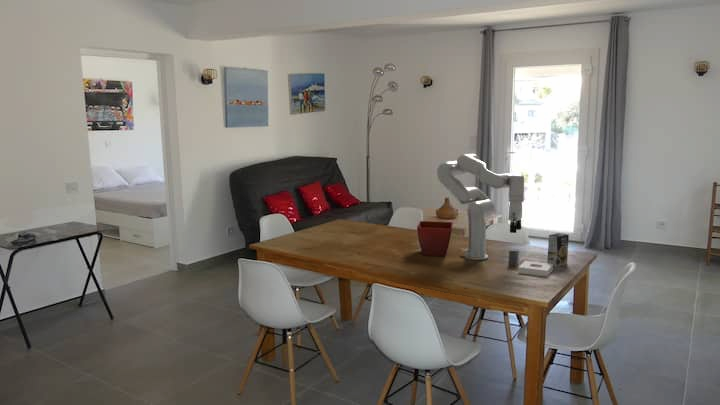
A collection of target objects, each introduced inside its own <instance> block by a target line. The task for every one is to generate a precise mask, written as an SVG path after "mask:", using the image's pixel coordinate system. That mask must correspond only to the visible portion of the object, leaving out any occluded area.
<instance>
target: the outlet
mask: <svg viewBox="0 0 720 405" xmlns="http://www.w3.org/2000/svg"><path fill="white" fill-rule="evenodd" d="M517 267H518V270H517V271H518V274H523V275H530V276H531V275H532V276H539V277H548V276H549V275H550V274H551V273H552V272H553V270H554V266H553V264H547V262H537V261H530V260H525V261H523V262H522V263H521V264H520V265H518V266H517Z"/></svg>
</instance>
